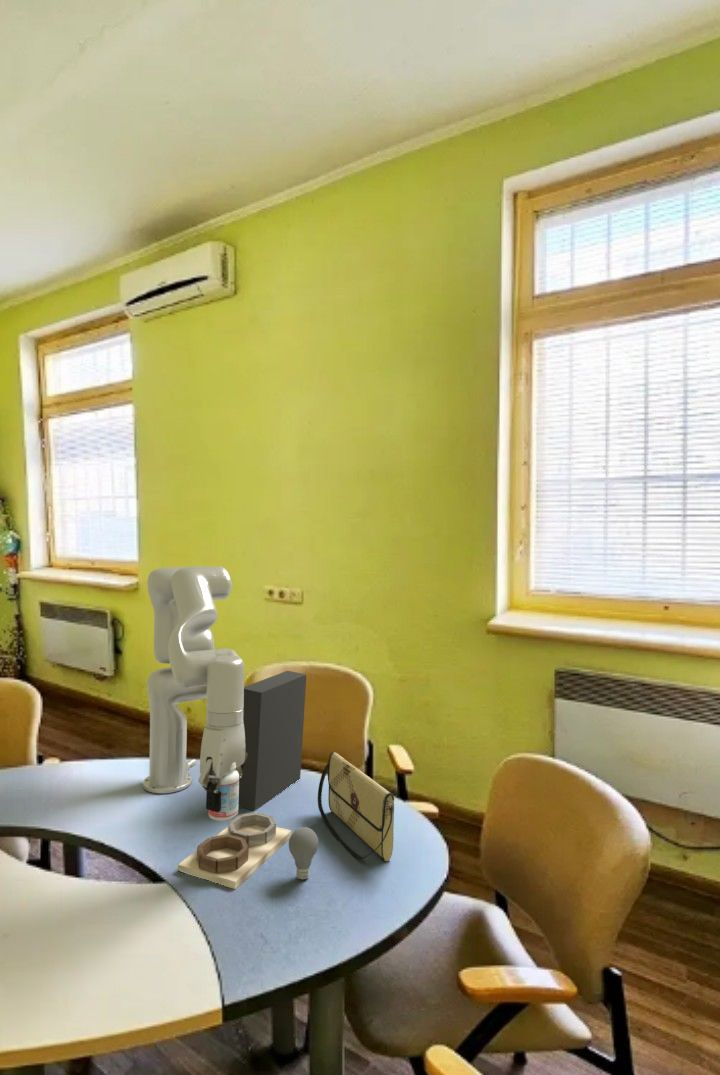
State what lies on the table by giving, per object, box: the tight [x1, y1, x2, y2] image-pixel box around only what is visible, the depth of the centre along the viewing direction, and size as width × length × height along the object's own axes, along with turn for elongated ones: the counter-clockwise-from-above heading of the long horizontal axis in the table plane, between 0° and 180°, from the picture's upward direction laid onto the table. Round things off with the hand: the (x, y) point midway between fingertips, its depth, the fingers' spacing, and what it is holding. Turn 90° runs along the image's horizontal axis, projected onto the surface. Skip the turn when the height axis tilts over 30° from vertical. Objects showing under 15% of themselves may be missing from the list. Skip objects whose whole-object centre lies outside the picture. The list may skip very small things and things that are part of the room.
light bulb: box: [288, 826, 319, 880], centre depth 123 cm, size 6×6×10 cm
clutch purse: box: [317, 751, 395, 862], centre depth 139 cm, size 30×7×15 cm, turn 29°
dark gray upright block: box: [238, 670, 307, 812], centre depth 162 cm, size 21×11×30 cm, turn 154°
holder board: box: [177, 812, 292, 890], centre depth 131 cm, size 22×14×4 cm, turn 157°
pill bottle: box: [207, 762, 239, 822], centre depth 126 cm, size 6×6×11 cm
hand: (223, 802), depth 126 cm, fingers closed on pill bottle, 6 cm apart
